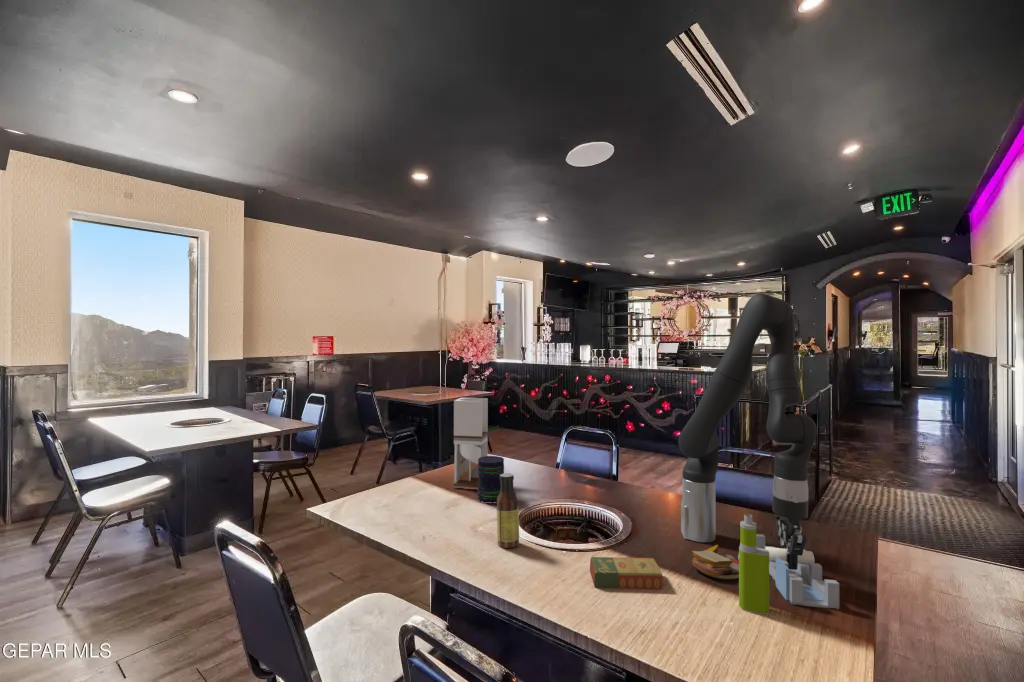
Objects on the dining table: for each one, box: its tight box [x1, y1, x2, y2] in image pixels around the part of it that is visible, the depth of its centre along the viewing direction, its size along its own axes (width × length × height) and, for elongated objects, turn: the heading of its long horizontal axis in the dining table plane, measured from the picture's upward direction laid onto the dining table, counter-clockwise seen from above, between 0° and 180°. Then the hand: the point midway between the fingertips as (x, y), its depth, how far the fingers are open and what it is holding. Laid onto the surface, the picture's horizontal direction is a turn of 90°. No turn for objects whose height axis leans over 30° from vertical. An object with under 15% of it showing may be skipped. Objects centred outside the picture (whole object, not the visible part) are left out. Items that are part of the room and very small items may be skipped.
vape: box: [737, 513, 770, 615], centre depth 102 cm, size 4×6×20 cm, turn 67°
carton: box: [589, 556, 664, 591], centre depth 113 cm, size 8×16×4 cm, turn 87°
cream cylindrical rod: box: [765, 546, 815, 565], centre depth 115 cm, size 10×3×3 cm, turn 78°
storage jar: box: [477, 455, 505, 502], centre depth 172 cm, size 10×10×15 cm
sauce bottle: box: [496, 472, 520, 549], centre depth 133 cm, size 6×6×20 cm
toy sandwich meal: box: [691, 544, 739, 580], centre depth 119 cm, size 12×14×5 cm
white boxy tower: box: [452, 397, 489, 488], centre depth 190 cm, size 11×11×35 cm
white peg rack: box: [756, 533, 840, 610], centre depth 115 cm, size 10×26×7 cm, turn 169°
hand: (789, 565), depth 115 cm, fingers closed on cream cylindrical rod, 3 cm apart
